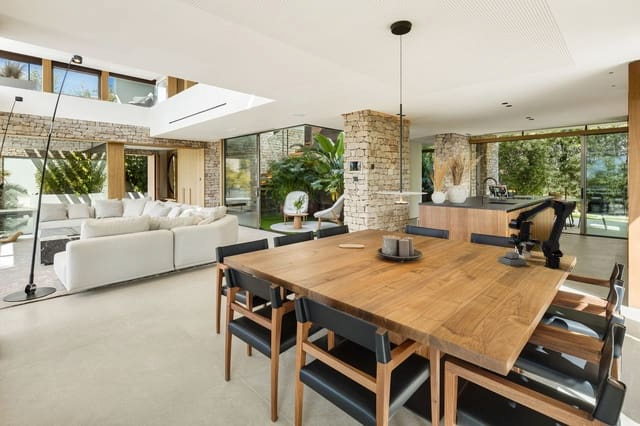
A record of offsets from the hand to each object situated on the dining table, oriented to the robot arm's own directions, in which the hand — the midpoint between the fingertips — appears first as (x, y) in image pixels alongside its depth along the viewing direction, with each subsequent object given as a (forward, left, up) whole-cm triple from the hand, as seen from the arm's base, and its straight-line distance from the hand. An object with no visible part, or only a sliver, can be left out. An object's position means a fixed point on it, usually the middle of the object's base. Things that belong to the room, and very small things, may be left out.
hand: (523, 254), depth 211 cm
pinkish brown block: (0, 0, -1) cm, 1 cm away
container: (+11, -9, -4) cm, 15 cm away
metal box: (-7, +14, -2) cm, 16 cm away
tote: (-7, +14, -3) cm, 16 cm away
